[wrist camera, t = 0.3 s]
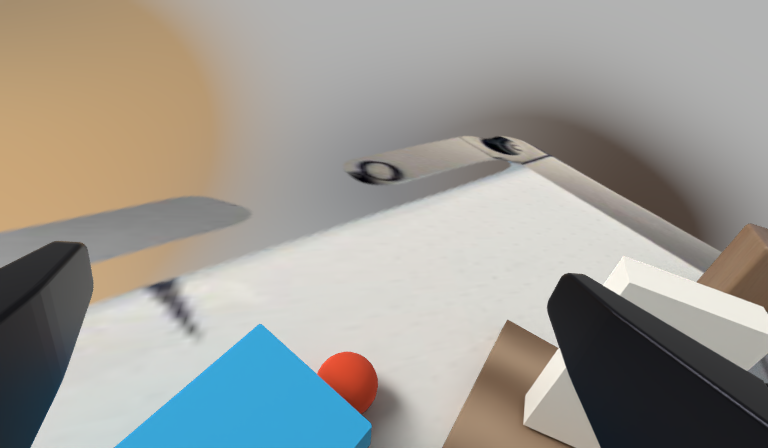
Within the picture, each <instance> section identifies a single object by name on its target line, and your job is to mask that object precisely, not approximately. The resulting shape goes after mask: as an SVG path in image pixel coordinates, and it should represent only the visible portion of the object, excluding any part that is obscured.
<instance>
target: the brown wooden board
mask: <svg viewBox="0 0 768 448" xmlns="http://www.w3.org/2000/svg"><path fill="white" fill-rule="evenodd" d="M557 350H558V348H557V347H555V346H554V345H552V344H550V343H548V342H546V341H545V340H543V339H541V338H539V337H538V336H536V335H534V334H532V333H530V332H529V331H527V330H525V329H523V328H522V327H520V326H518V325H516V324H514V323H513V322H511V321H509V320H507V321H506V323H505V325H504V327H503V329H502V330H501V332H500V334H499V336H498V338H497V340H496V342H495V344H494V346H493V348H492V350H491V352H490V354H489V356H488V358H487V360H486V362H485V364H484V366H483V368H482V370H481V372H480V374H479V376H478V378H477V380H476V382H475V384H474V386H473V388H472V390H471V392H470V394H469V396H468V398H467V400H466V402H465V404H464V406H463V408H462V410H461V412H460V414H459V416H458V417H457V419H456V421H455V423H454V425H453V427H452V429H451V431H450V433H449V435H448V437H447V439H446V441H445V443H444V445H443V447H442V448H575V447H573V446H571V445H569V444H566V443H564V442H562V441H559V440H557V439H555V438H552V437H550V436H548V435H546V434H543V433H541V432H539V431H536V430H534V429H532V428H530V427H527V426H525V425H523V421H524V407H525V395H526V394H527V392H528V391H529V390H530V388H531V387H532V385H533V384H534V383H535V381H536V380H537V378H538V377H539V375H540V374H541V373H542V371H543V370H544V368H545V367H546V365H547V364H548V363H549V361H550V360H551V358H552V357H553V355H554V354H555V353H556V351H557Z"/></svg>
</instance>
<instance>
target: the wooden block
mask: <svg viewBox="0 0 768 448" xmlns="http://www.w3.org/2000/svg"><path fill="white" fill-rule="evenodd" d="M697 283H700V284H702V285H705V286H708V287H710V288H713V289H716V290H719V291H721V292H724V293H727V294H729V295H732V296H735V297H738V298H740V299H743V300H746V301H748V302H751V303H754V304H757V305H759V306H762V307H764V309H765V310H766V312H767V311H768V229H767V228H763V227H760V226H757V225H754V224H747V225H746V226H745V227H744V228H743V229H742V230H741V231H740V232H739V234H738V235H737V236H736V237H735V238H734V240H733V241H732V242H731V243H730V244H729V245H728V247H726V249H725V250H724V251H723V252H722V253H721V254H720V256H719V257H718V258H717V259H716V260H715V261H714V262H713V264H712V265H711V266H710V267H709V268H708V269H707V270H706V272H705V273H704V274H703V275H702V276H701V277H700V279H699V280H698V281H697Z"/></svg>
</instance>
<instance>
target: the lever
mask: <svg viewBox="0 0 768 448" xmlns="http://www.w3.org/2000/svg"><path fill="white" fill-rule="evenodd" d="M377 388H378V378H377V375H376V372H375V370H374V368H373V366H372V364H371V363H370V362H369V361H368V360H367V359H366V358H365V357H363V356H361V355H359V354H357V353H353V352H342V353H338V354H335V355H333V356H332V357H330V358H328V359H327V360H326V361H325V362H324V363H323V364H322V366H321V368H320V369H319V371H318V374H316V373H315V372H314V371H313V370H312V369H310V368H309V367H308V366H307V365H306V364H305V363H304V362H303V361H302V360H301V359H299V358H298V357H297V356H296V355H295V354H294V353H293V352H292V351H291V350H289V349H288V348H287V347H286V346H285V345H284V344H283V343H282V342H281V341H280V340H278V339H277V338H276V337H275V336H274V335H273V334H272V333H271V332H270V331H269V330H267V329H266V328H265V327H264V326H263V325H262V324H259V325H257V326H256V327H255V328H254V329H253V330H252V331H250V332H249V333H248V334H247V335H246V336H245V337H243V338H242V339H241V340H240V341H239V342H238V343H236V344H235V345H234V346H233V347H232V348H230V349H229V350H228V351H227V352H226V353H225V354H223V355H222V356H221V357H220V358H219V359H218V360H216V361H215V362H214V363H213V364H212V365H211V366H209V367H208V368H207V369H206V370H205V371H203V372H202V373H201V374H200V375H199V376H198V377H196V378H195V379H194V380H193V381H192V382H191V383H189V384H188V385H187V386H186V387H185V388H184V389H182V390H181V391H180V392H179V393H178V394H176V395H175V396H174V397H173V398H172V399H171V400H169V401H168V402H167V403H166V404H165V405H164V406H162V407H161V408H160V409H159V410H158V411H156V412H155V413H154V414H153V415H152V416H151V417H149V418H148V419H147V420H146V421H145V422H144V423H142V424H141V425H140V426H139V427H138V428H137V429H135V430H134V431H133V432H132V433H131V434H129V435H128V436H127V437H126V438H125V439H124V440H122V441H121V442H120V443H119V444H118V445H117V446H115V447H114V448H368V447H369V445H370V443H371V429H372V426H371V423H370V422H369V421H368V420H367V419H366V418H365V417H363V416H362V415H361V414H362V413H363V412H365V411H366V410H367V409H368V408H369V406H370V405H371V404H372V402H373V401H374V399H375V396H376V392H377Z"/></svg>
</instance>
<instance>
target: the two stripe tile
mask: <svg viewBox="0 0 768 448" xmlns="http://www.w3.org/2000/svg"><path fill="white" fill-rule="evenodd" d="M603 286H605V287H606V288H608V289H610V290H611V291H613V292H615V293H617V294H618V295H620V296H622V297H623V298H625V299H627V300H628V301H630V302H632V303H633V304H635V305H637V306H638V307H640V308H642V309H643V310H645V311H647V312H649V313H650V314H652V315H654V316H655V317H657V318H659V319H660V320H662V321H664V322H665V323H667V324H669V325H670V326H672V327H674V328H675V329H677V330H679V331H681V332H682V333H684V334H686V335H687V336H689V337H691V338H692V339H694V340H696V341H697V342H699V343H701V344H702V345H704V346H706V347H707V348H709V349H711V350H712V351H714V352H716V353H718V354H719V355H721V356H723V357H724V358H726V359H728V360H729V361H731V362H733V363H734V364H736V365H738V366H739V367H741V368H743V369H744V370H746V371H748V370H749V369H750V368H751V367H752V366H754V365H755V364H756V363H757V362H758V361H759V360H760V359H762V358H763V357H764V356H765V355H766V354H767V353H768V314H767V312H766V310H765V309H764V307H762V306H759V305H757V304H754V303H751V302H748V301H746V300H743V299H740V298H738V297H735V296H732V295H729V294H727V293H724V292H721V291H719V290H716V289H713V288H710V287H708V286H705V285H702V284H700V283H697V282H694V281H691V280H689V279H686V278H683V277H680V276H678V275H675V274H672V273H670V272H667V271H664V270H661V269H659V268H656V267H653V266H651V265H648V264H645V263H642V262H640V261H637V260H634V259H632V258H629V257H626V256H623V257H622V259H621V260H620V261H619V263H618V264H617V266H616V267H615V269H614V270H613V271H612V273H611V274H610V276H609V277H608V279H607V280H606V281H605V283H604V284H603ZM523 425H525V426H527V427H530V428H532V429H534V430H536V431H539V432H541V433H543V434H546V435H548V436H550V437H552V438H555V439H557V440H559V441H562V442H564V443H566V444H569V445H571V446H573V447H575V448H601V447H600V445H599V443H598V441H597V438H596V436H595V434H594V432H593V429H592V427H591V425H590V423H589V420H588V418H587V416H586V413H585V411H584V409H583V407H582V404H581V402H580V400H579V398H578V395H577V393H576V391H575V389H574V386H573V384H572V382H571V379H570V377H569V374H568V371H567V369H566V366H565V363H564V360H563V357H562V354H561V351H560V348H558V350H557V351H556V353H555V354H554V355H553V357H552V358H551V360H550V361H549V363H548V364H547V365H546V367H545V368H544V370H543V371H542V373H541V374H540V375H539V377H538V378H537V380H536V381H535V383H534V384H533V385H532V387H531V388H530V390H529V391H528V392H527V394H526V395H525V407H524V421H523Z"/></svg>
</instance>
